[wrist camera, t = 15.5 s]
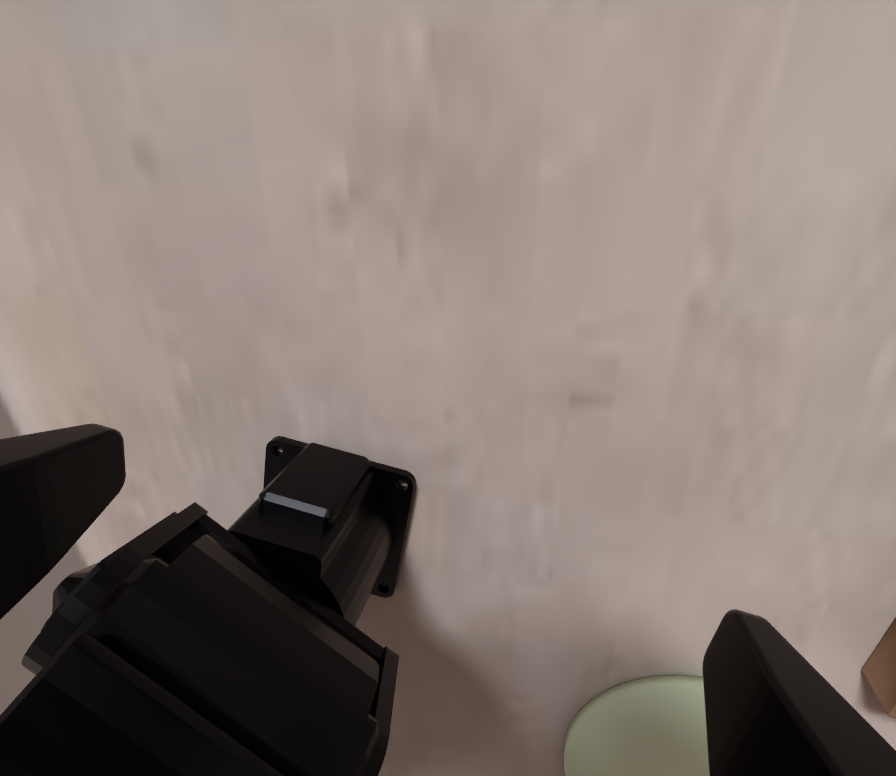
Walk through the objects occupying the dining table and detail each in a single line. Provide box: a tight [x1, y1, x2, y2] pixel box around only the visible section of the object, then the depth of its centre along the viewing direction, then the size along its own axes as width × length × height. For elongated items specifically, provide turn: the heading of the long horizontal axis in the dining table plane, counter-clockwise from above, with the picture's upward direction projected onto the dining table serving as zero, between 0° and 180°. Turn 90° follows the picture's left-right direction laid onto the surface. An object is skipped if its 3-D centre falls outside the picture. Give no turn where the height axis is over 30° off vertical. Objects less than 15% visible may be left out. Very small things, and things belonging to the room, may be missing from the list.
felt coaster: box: [564, 675, 710, 776], centre depth 25 cm, size 11×11×1 cm
